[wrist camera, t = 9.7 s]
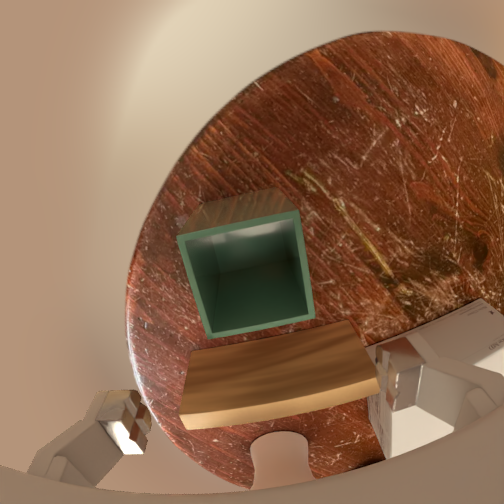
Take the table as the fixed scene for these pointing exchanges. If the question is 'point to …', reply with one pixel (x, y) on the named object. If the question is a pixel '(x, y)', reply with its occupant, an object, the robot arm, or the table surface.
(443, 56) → the table surface
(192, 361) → the stepped wooden molding
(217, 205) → the green rectangular container
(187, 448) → the table surface
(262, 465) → the cup
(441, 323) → the supplement box
